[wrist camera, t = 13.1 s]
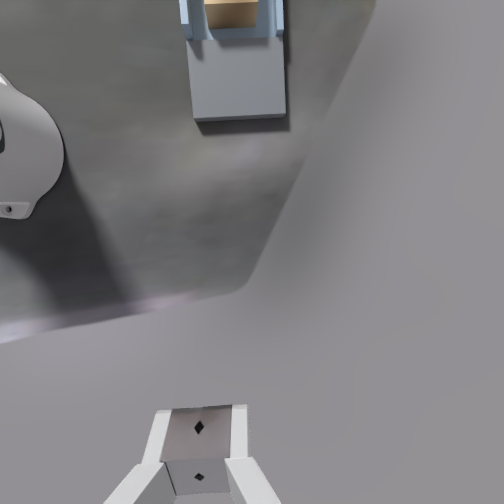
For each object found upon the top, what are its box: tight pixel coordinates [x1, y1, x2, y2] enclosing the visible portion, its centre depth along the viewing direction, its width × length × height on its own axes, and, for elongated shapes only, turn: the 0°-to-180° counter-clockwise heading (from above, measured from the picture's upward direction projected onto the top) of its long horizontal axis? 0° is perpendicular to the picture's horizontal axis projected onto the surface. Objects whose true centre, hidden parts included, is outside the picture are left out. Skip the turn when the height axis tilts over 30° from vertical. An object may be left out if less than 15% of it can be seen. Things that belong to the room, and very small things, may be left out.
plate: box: [186, 36, 286, 122], centre depth 39 cm, size 12×9×2 cm
